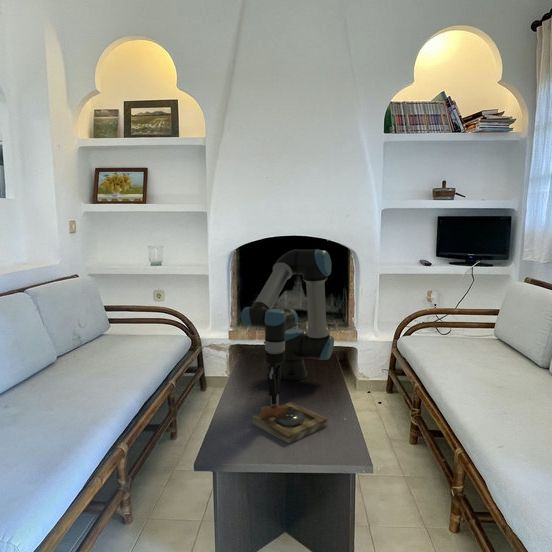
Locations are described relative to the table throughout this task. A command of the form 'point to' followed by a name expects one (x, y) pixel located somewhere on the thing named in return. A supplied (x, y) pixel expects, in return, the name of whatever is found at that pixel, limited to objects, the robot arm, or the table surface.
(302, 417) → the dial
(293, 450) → the table surface
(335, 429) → the table surface
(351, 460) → the table surface
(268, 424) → the panel
